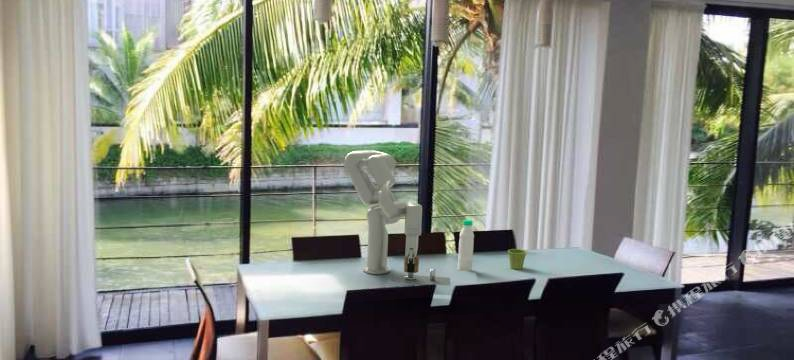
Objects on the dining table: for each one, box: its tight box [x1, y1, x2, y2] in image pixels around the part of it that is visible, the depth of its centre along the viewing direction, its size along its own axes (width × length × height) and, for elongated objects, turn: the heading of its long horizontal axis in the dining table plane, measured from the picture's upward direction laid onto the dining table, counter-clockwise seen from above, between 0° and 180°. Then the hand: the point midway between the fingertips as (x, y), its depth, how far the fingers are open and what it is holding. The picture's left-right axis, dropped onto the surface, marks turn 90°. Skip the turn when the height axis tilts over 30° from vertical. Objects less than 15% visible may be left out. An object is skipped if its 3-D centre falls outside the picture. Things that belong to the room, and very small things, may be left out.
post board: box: [391, 273, 451, 286], centre depth 301 cm, size 12×26×2 cm, turn 85°
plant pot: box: [507, 248, 528, 270], centre depth 334 cm, size 9×9×9 cm
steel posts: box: [404, 268, 437, 281], centre depth 301 cm, size 5×14×7 cm, turn 85°
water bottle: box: [457, 219, 475, 272], centre depth 324 cm, size 7×7×25 cm
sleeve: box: [403, 256, 420, 274], centre depth 300 cm, size 6×6×6 cm
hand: (411, 269), depth 301 cm, fingers closed on sleeve, 6 cm apart
